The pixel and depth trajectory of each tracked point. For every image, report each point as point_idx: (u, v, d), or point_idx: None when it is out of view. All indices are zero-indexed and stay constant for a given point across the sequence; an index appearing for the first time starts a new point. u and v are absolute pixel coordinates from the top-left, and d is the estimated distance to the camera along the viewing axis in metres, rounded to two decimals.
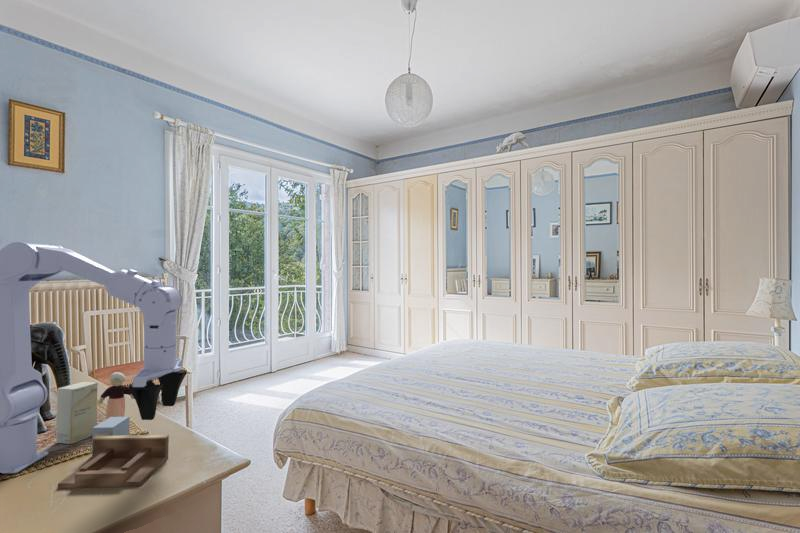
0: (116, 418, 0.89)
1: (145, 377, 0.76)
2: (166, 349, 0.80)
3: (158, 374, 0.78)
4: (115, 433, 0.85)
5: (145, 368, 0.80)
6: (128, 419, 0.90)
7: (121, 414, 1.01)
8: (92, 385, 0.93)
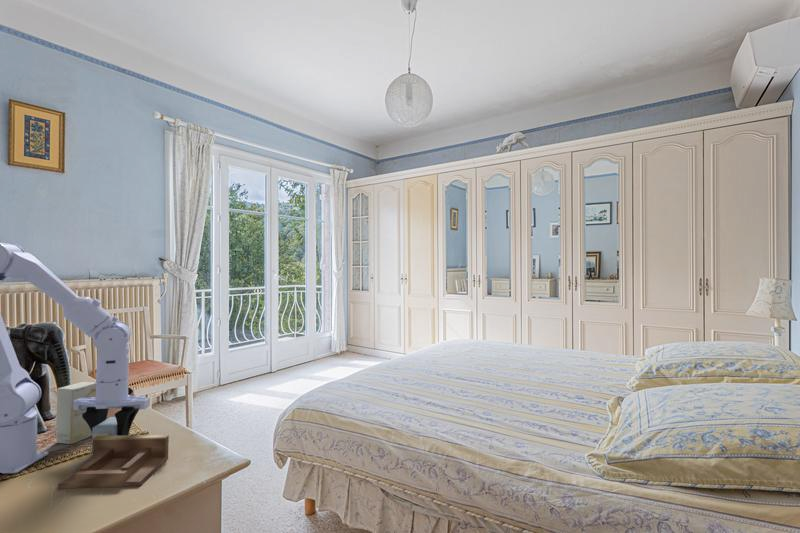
0: None
1: (76, 402, 0.85)
2: (97, 383, 0.85)
3: (87, 404, 0.85)
4: (115, 433, 0.85)
5: None
6: None
7: None
8: (92, 385, 0.93)
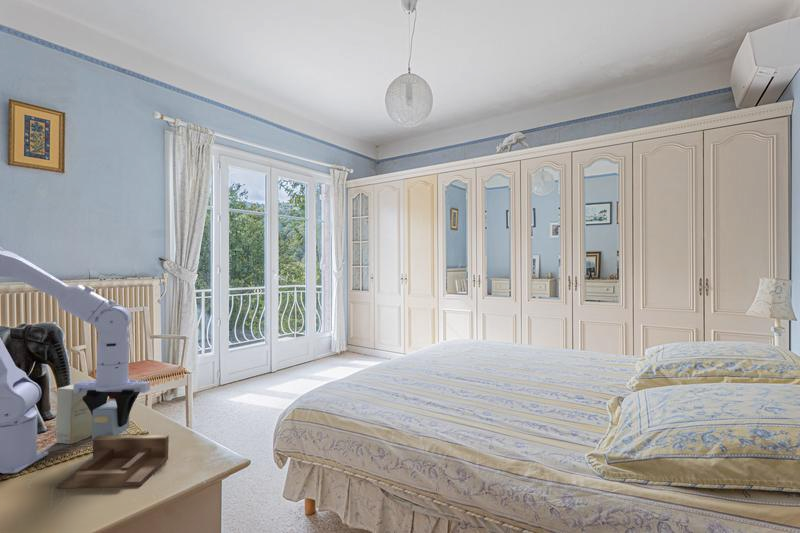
0: None
1: (76, 385, 0.85)
2: (97, 366, 0.85)
3: (87, 387, 0.85)
4: (115, 416, 0.85)
5: None
6: None
7: None
8: None
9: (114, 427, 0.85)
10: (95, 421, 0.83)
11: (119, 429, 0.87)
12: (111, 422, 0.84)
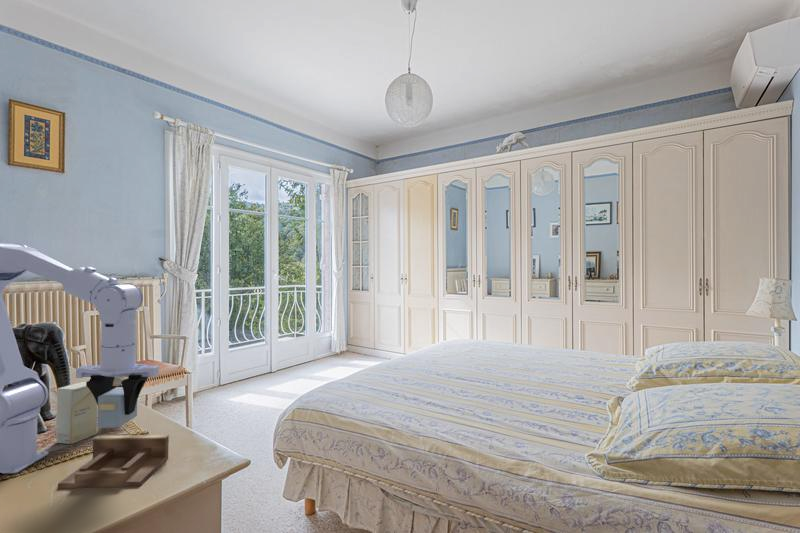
0: None
1: (78, 369, 0.78)
2: (101, 348, 0.78)
3: (91, 371, 0.78)
4: (122, 403, 0.78)
5: None
6: None
7: None
8: None
9: (122, 415, 0.78)
10: (101, 408, 0.76)
11: (126, 417, 0.80)
12: (118, 409, 0.77)
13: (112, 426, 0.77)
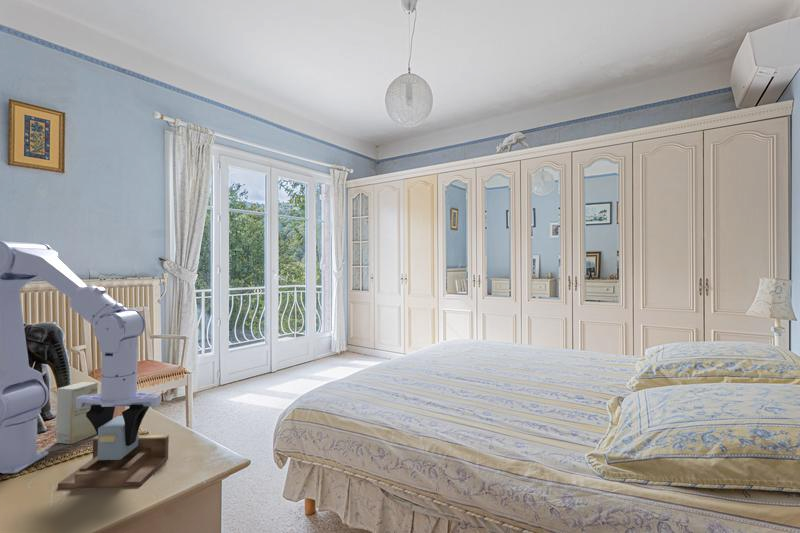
0: None
1: (78, 399, 0.76)
2: (102, 378, 0.75)
3: (91, 401, 0.76)
4: (123, 434, 0.76)
5: None
6: None
7: (121, 414, 1.01)
8: (92, 385, 0.93)
9: (122, 446, 0.76)
10: (101, 440, 0.74)
11: (127, 448, 0.78)
12: (119, 441, 0.75)
13: (112, 458, 0.75)
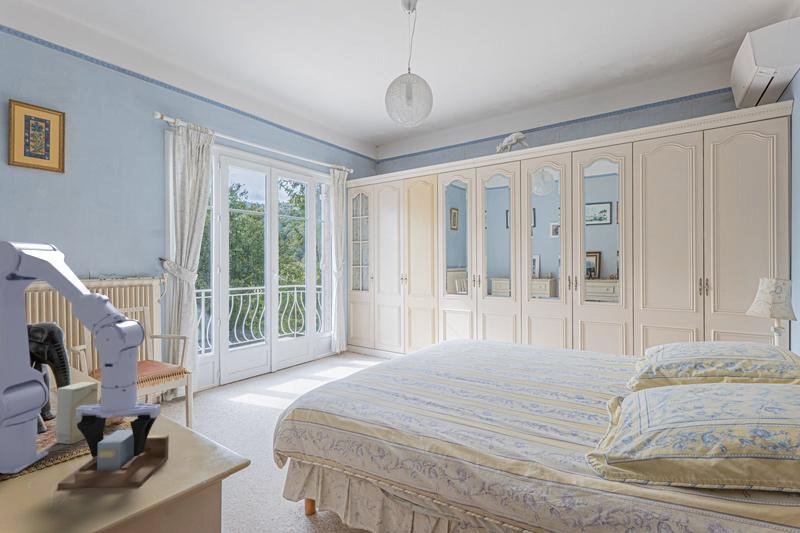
0: (123, 431, 0.80)
1: (78, 410, 0.76)
2: (102, 389, 0.75)
3: (91, 412, 0.76)
4: (122, 449, 0.76)
5: None
6: None
7: None
8: (92, 385, 0.93)
9: (122, 461, 0.76)
10: (100, 456, 0.74)
11: None
12: (118, 456, 0.75)
13: None
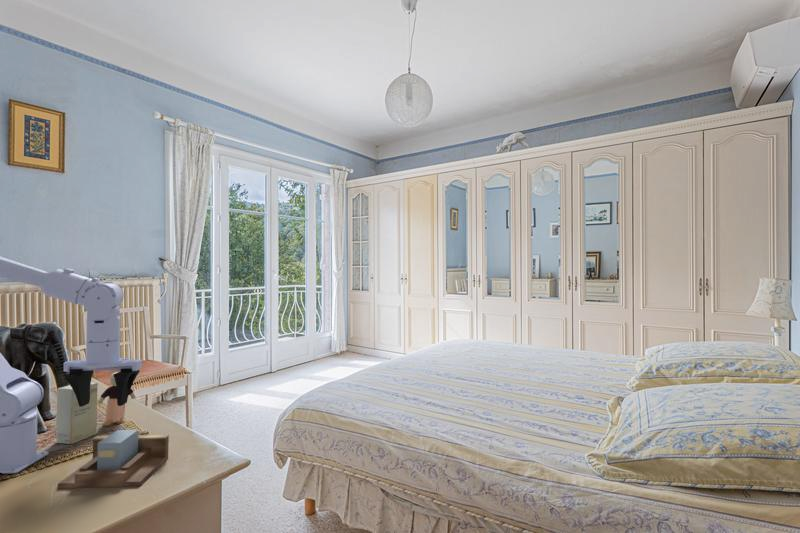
0: (123, 431, 0.80)
1: (66, 363, 0.83)
2: (87, 344, 0.82)
3: (78, 365, 0.83)
4: (122, 449, 0.76)
5: None
6: (137, 432, 0.81)
7: (121, 414, 1.01)
8: (92, 385, 0.93)
9: (122, 461, 0.76)
10: (100, 456, 0.74)
11: None
12: (118, 456, 0.75)
13: None
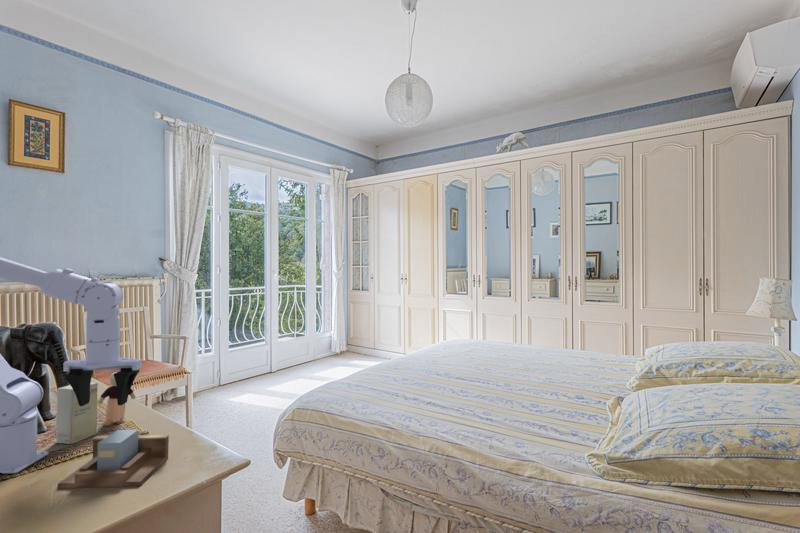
0: (123, 431, 0.80)
1: (66, 363, 0.83)
2: (87, 343, 0.83)
3: (78, 365, 0.83)
4: (122, 449, 0.76)
5: None
6: (137, 432, 0.81)
7: (121, 414, 1.01)
8: (92, 385, 0.93)
9: (122, 461, 0.76)
10: (100, 456, 0.74)
11: None
12: (118, 456, 0.75)
13: None
